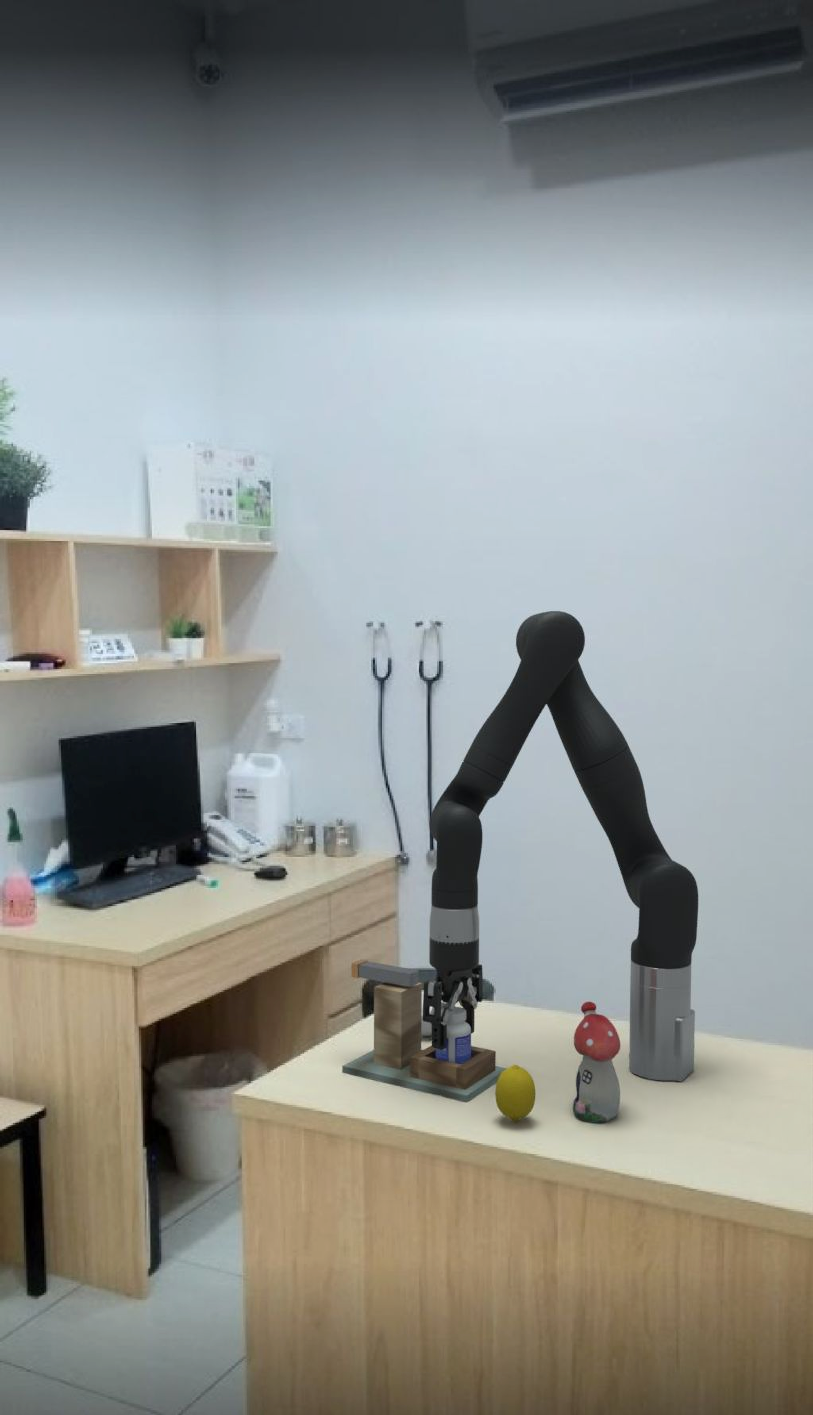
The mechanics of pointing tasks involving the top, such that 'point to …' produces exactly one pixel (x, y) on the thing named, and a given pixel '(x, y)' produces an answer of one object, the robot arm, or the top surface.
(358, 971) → the bar
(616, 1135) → the top surface
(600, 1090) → the decorative ornament
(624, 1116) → the top surface
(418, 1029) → the socket board
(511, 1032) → the top surface
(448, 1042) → the pill bottle
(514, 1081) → the lemon
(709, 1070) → the top surface
